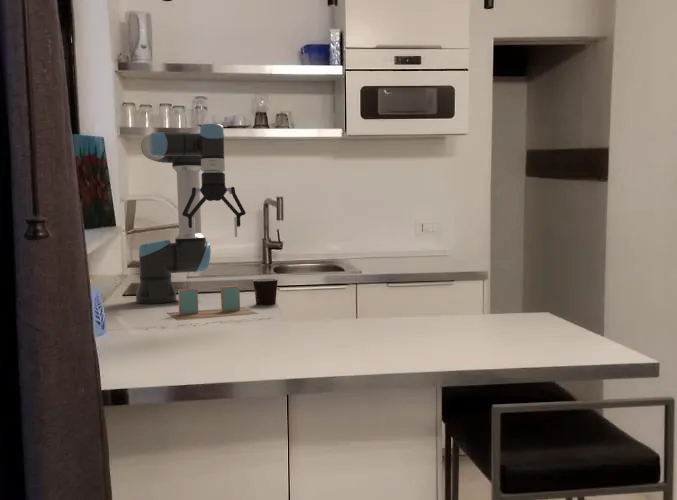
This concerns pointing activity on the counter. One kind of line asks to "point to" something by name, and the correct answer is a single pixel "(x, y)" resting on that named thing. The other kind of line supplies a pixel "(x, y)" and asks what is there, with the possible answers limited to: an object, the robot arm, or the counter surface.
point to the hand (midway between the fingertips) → (215, 237)
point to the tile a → (188, 301)
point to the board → (212, 314)
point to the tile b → (230, 298)
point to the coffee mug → (265, 291)
